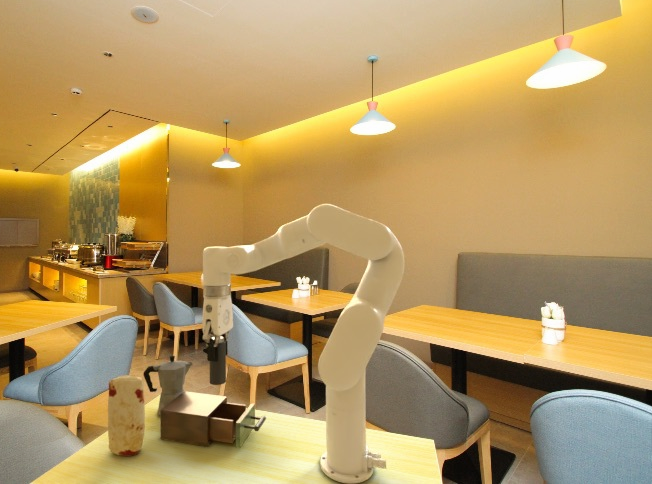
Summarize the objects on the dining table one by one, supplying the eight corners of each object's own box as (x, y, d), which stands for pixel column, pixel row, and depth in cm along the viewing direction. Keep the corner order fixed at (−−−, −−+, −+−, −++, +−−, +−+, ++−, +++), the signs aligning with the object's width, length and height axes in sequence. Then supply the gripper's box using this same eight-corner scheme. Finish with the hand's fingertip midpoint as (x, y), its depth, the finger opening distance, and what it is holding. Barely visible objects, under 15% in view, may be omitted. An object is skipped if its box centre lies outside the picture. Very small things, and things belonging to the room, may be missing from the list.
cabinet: (227, 423, 107) (227, 396, 107) (207, 446, 95) (207, 416, 95) (184, 417, 111) (184, 391, 111) (160, 439, 99) (160, 409, 99)
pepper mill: (228, 379, 98) (228, 336, 99) (221, 386, 94) (221, 340, 94) (214, 378, 100) (214, 335, 100) (206, 384, 95) (206, 339, 96)
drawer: (269, 427, 102) (268, 405, 103) (255, 450, 92) (255, 425, 92) (213, 419, 107) (213, 398, 108) (194, 440, 97) (194, 416, 97)
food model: (102, 459, 90) (101, 380, 90) (116, 444, 96) (116, 370, 97) (139, 460, 89) (138, 381, 89) (150, 445, 96) (150, 371, 96)
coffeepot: (190, 401, 122) (190, 349, 122) (195, 413, 113) (195, 357, 114) (142, 410, 116) (142, 355, 116) (144, 424, 107) (144, 364, 107)
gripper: (215, 296, 88) (215, 370, 88) (241, 287, 104) (242, 349, 104) (188, 295, 90) (189, 367, 90) (218, 287, 107) (219, 347, 106)
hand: (217, 357), depth 97 cm, fingers closed on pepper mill, 4 cm apart
